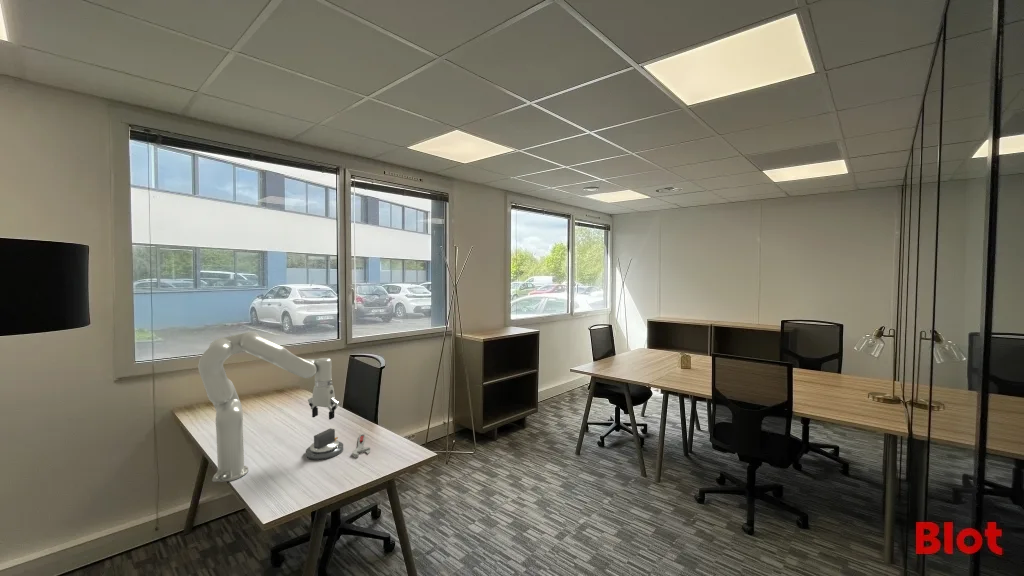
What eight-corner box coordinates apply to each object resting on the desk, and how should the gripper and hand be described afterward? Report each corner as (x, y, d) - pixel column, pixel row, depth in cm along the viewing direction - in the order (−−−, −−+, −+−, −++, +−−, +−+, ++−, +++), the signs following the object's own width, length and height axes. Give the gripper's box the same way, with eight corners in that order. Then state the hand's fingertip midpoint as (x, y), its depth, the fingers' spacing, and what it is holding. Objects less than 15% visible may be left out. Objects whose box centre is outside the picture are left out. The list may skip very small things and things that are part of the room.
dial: (323, 455, 189) (323, 439, 188) (304, 450, 194) (303, 435, 193) (347, 442, 202) (346, 428, 202) (327, 438, 207) (327, 424, 207)
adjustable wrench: (375, 436, 218) (375, 432, 218) (368, 457, 193) (368, 453, 193) (359, 437, 216) (359, 433, 216) (350, 459, 191) (350, 455, 191)
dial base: (336, 459, 190) (336, 454, 190) (299, 461, 188) (299, 456, 188) (347, 443, 207) (347, 439, 207) (314, 445, 205) (313, 440, 205)
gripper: (343, 382, 197) (343, 416, 198) (314, 379, 201) (314, 413, 202) (332, 387, 190) (332, 422, 191) (302, 383, 194) (302, 418, 195)
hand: (323, 417), depth 196 cm, fingers open, 9 cm apart
